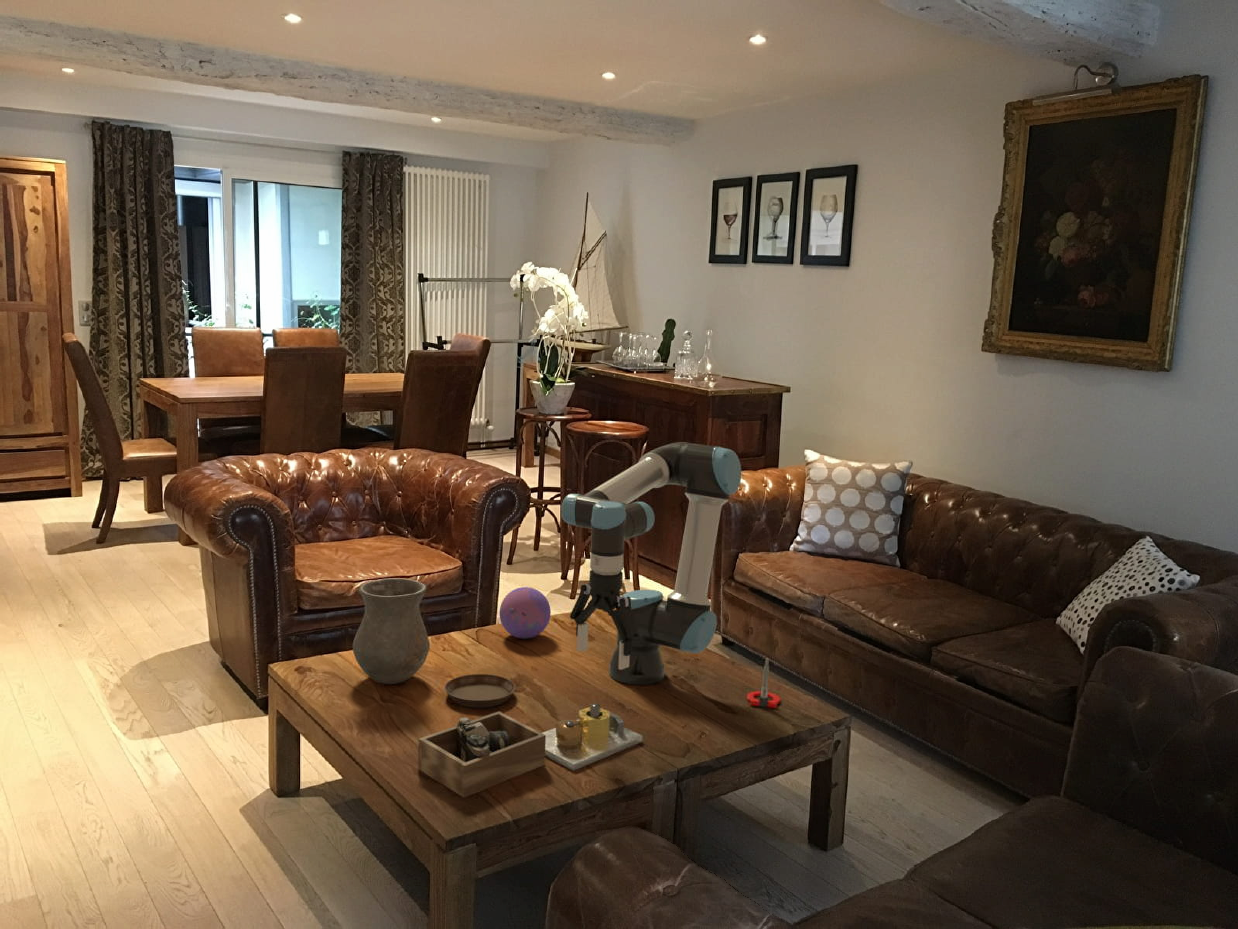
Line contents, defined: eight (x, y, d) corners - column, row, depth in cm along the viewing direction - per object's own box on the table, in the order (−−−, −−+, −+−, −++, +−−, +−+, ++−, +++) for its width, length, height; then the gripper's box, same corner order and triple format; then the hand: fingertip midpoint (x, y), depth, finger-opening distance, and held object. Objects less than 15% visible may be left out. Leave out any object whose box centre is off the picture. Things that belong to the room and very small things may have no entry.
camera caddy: (418, 769, 219) (418, 738, 217) (498, 740, 234) (499, 711, 233) (463, 797, 208) (464, 765, 207) (544, 765, 224) (545, 735, 222)
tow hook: (747, 693, 270) (746, 706, 261) (751, 646, 268) (750, 657, 259) (779, 697, 268) (779, 710, 259) (783, 650, 267) (784, 661, 258)
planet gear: (572, 733, 236) (572, 713, 236) (593, 724, 241) (594, 705, 241) (593, 743, 232) (594, 723, 231) (614, 734, 237) (615, 714, 236)
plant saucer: (458, 680, 268) (458, 669, 268) (523, 688, 265) (523, 677, 264) (434, 707, 251) (434, 695, 250) (503, 716, 248) (503, 704, 247)
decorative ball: (492, 643, 296) (493, 593, 293) (506, 626, 310) (508, 578, 308) (542, 648, 293) (544, 598, 291) (554, 631, 308) (556, 583, 305)
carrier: (525, 745, 232) (526, 710, 231) (594, 719, 248) (595, 686, 247) (573, 770, 222) (574, 734, 220) (642, 741, 237) (644, 707, 236)
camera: (519, 777, 215) (520, 732, 214) (472, 786, 211) (472, 740, 210) (496, 748, 230) (496, 706, 228) (451, 756, 225) (451, 712, 224)
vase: (337, 684, 261) (337, 590, 256) (381, 660, 278) (382, 572, 274) (402, 700, 253) (403, 603, 249) (443, 674, 271) (445, 583, 266)
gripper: (556, 560, 237) (554, 647, 241) (634, 587, 220) (630, 679, 224) (580, 555, 242) (577, 640, 246) (658, 580, 225) (653, 671, 229)
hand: (602, 659), depth 235 cm, fingers open, 13 cm apart
